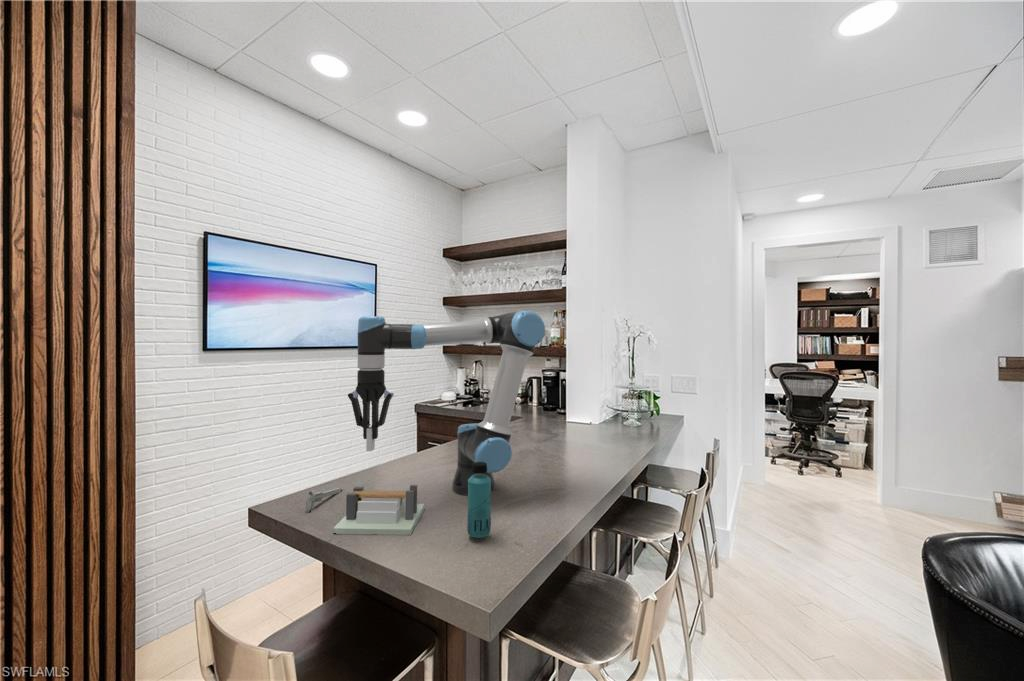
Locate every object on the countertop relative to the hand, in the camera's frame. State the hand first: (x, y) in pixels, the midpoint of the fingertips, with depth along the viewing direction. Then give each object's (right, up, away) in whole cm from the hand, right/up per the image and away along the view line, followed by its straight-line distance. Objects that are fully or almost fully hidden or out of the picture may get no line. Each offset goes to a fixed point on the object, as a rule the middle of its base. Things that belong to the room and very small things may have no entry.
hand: (370, 449), depth 124 cm
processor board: (+4, -21, 0) cm, 21 cm away
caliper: (-19, -21, +14) cm, 32 cm away
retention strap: (+4, -16, 0) cm, 16 cm away
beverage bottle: (+32, -21, -11) cm, 40 cm away
